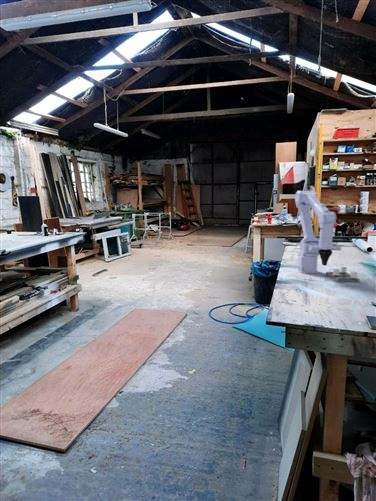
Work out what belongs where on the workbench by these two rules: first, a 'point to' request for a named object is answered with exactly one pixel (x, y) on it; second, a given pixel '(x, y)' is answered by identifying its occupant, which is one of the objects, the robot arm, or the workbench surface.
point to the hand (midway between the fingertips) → (324, 264)
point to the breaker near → (353, 274)
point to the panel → (342, 277)
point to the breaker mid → (335, 271)
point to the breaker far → (343, 268)
